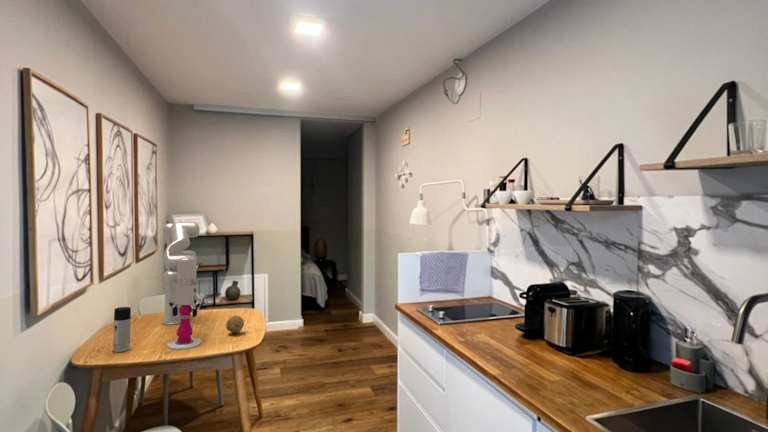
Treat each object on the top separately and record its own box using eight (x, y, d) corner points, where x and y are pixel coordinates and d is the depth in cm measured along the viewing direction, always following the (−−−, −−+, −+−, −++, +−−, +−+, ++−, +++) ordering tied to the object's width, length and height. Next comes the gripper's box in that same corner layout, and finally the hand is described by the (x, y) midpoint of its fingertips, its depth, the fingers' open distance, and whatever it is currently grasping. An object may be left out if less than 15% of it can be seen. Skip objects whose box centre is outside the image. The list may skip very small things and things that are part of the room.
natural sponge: (237, 337, 216) (237, 318, 216) (222, 335, 217) (222, 317, 217) (246, 332, 225) (246, 314, 224) (232, 331, 226) (232, 313, 226)
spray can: (118, 347, 196) (118, 306, 195) (132, 347, 196) (133, 306, 196) (110, 352, 189) (110, 310, 189) (125, 352, 190) (126, 310, 189)
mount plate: (177, 339, 210) (177, 336, 210) (206, 340, 210) (206, 337, 210) (161, 349, 195) (161, 346, 195) (192, 350, 195) (192, 347, 195)
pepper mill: (185, 344, 198) (187, 303, 198) (173, 343, 200) (174, 302, 200) (195, 340, 205) (196, 300, 205) (183, 338, 207) (184, 299, 207)
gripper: (206, 281, 206) (205, 314, 206) (172, 280, 206) (171, 313, 206) (199, 284, 198) (198, 318, 199) (164, 283, 198) (163, 317, 199)
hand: (184, 316), depth 202 cm, fingers open, 9 cm apart
